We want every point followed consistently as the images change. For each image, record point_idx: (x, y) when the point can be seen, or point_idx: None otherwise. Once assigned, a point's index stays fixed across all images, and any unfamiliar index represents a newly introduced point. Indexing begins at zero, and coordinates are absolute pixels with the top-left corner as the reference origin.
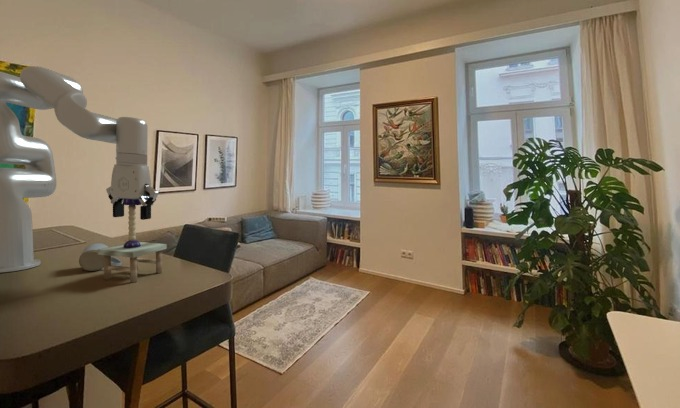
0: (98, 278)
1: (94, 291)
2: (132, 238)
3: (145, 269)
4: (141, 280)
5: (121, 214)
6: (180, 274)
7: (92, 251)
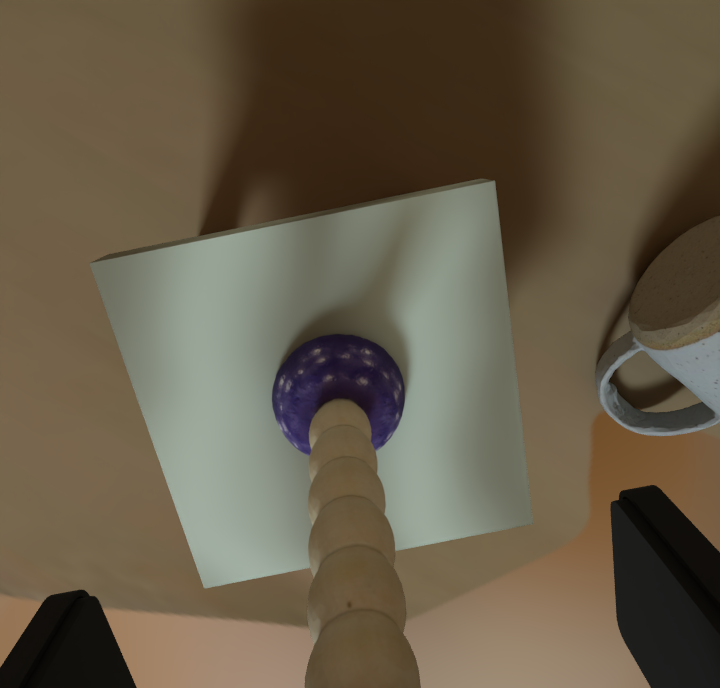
0: None
1: (231, 26)
2: (311, 422)
3: None
4: None
5: (630, 616)
6: (124, 466)
7: None
